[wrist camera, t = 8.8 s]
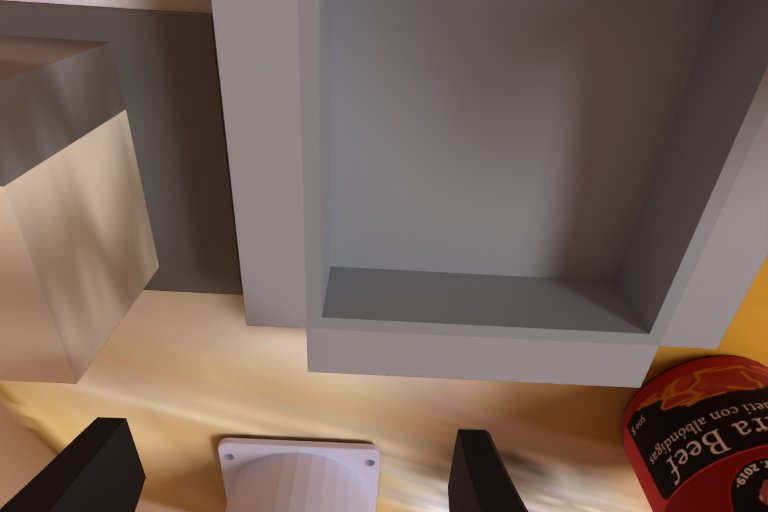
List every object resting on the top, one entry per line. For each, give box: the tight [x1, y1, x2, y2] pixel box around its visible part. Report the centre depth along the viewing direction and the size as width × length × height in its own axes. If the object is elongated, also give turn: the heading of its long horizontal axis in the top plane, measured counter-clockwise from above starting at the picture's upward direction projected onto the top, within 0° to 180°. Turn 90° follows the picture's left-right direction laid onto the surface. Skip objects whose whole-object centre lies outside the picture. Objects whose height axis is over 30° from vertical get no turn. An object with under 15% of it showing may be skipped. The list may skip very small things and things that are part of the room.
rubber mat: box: [0, 0, 243, 295], centre depth 17 cm, size 10×10×1 cm
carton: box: [211, 0, 768, 388], centre depth 15 cm, size 16×16×4 cm
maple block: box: [0, 35, 159, 384], centre depth 15 cm, size 8×4×6 cm, turn 177°
